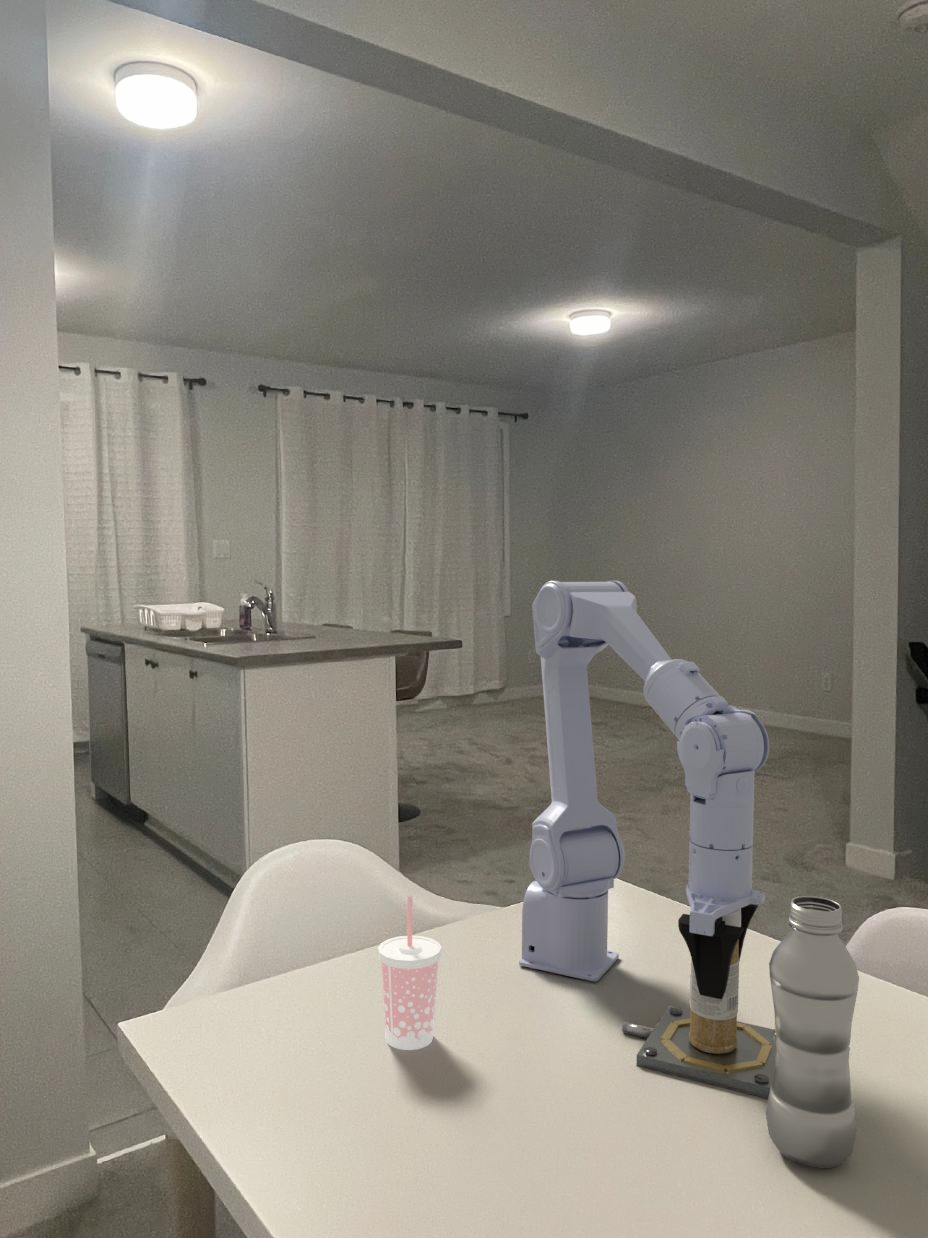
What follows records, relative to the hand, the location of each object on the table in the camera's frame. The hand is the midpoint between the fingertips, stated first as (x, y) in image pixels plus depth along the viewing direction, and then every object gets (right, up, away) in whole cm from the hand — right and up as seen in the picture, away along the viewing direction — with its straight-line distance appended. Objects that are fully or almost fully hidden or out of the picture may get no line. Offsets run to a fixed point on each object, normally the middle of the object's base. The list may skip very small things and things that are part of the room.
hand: (717, 985), depth 90 cm
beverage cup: (-29, -7, +3) cm, 30 cm away
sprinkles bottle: (0, -6, 0) cm, 6 cm away
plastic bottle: (+3, -8, -15) cm, 17 cm away
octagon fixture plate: (-1, -7, +1) cm, 7 cm away
